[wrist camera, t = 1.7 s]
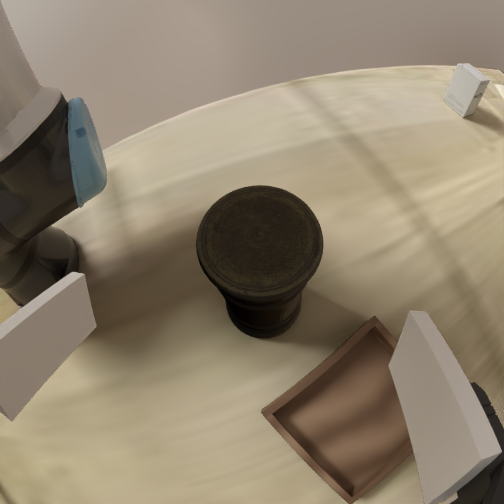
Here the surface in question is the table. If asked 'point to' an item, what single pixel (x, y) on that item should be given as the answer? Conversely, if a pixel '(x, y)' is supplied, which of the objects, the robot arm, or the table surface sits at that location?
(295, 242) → the container
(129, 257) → the table surface
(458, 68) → the supplement box
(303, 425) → the walnut tray
